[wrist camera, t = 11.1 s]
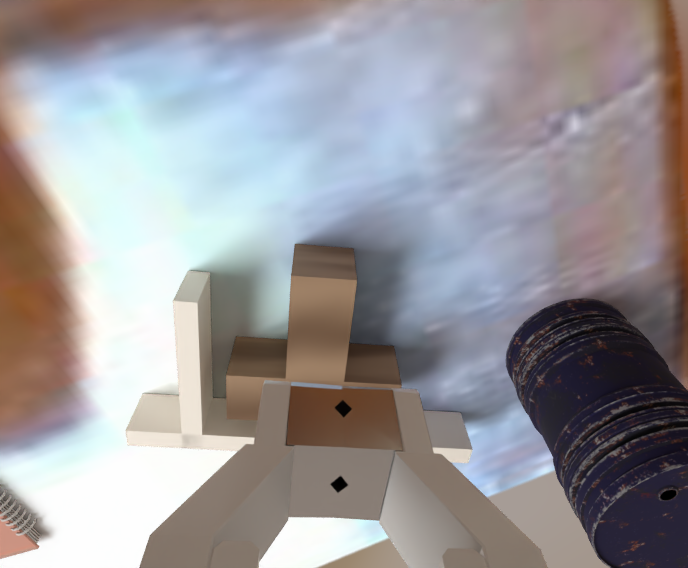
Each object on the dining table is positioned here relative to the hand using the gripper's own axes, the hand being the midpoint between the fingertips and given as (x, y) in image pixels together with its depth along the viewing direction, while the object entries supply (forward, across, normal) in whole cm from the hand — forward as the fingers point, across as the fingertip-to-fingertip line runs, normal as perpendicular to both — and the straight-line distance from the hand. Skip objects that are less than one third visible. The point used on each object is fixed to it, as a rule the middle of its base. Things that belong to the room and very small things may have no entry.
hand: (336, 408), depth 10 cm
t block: (+24, -1, +14) cm, 28 cm away
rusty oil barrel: (+24, -20, +15) cm, 35 cm away
